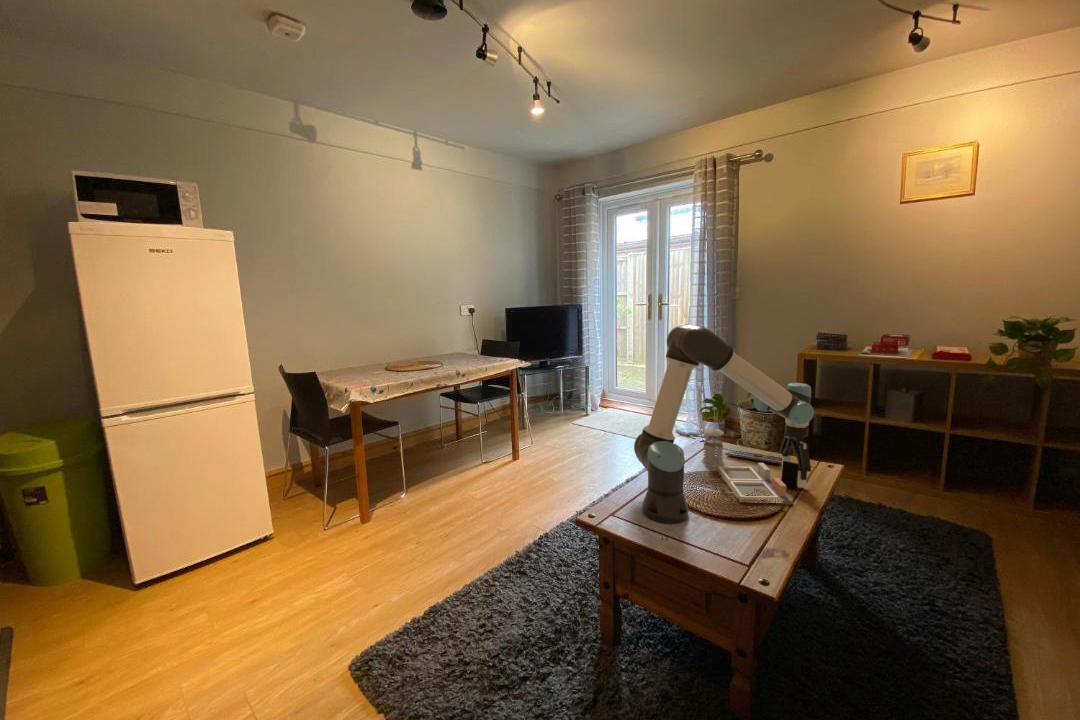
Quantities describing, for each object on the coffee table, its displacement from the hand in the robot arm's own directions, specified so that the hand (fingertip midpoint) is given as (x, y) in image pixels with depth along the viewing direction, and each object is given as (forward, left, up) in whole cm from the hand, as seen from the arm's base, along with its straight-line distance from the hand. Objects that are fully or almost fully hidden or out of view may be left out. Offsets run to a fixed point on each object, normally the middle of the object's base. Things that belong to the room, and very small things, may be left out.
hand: (793, 479), depth 164 cm
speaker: (0, 0, -3) cm, 3 cm away
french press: (-23, +22, -3) cm, 32 cm away
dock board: (-15, 0, -3) cm, 15 cm away
